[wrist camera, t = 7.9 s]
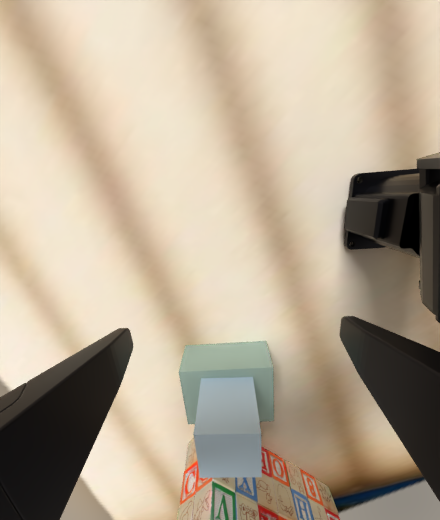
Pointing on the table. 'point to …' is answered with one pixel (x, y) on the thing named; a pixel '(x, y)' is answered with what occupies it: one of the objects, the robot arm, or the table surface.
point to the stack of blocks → (255, 494)
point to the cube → (228, 429)
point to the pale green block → (228, 372)
